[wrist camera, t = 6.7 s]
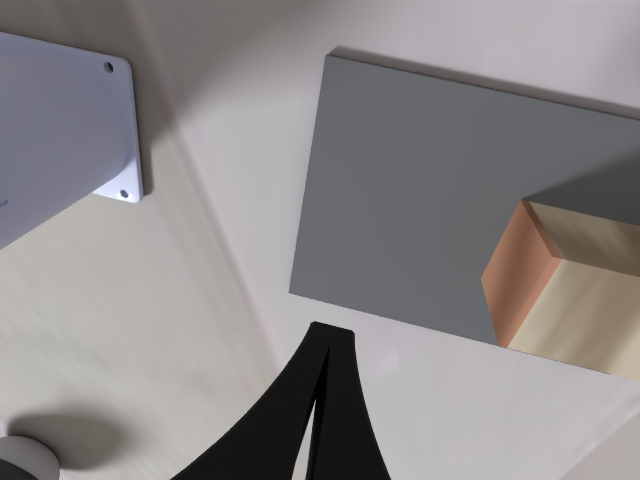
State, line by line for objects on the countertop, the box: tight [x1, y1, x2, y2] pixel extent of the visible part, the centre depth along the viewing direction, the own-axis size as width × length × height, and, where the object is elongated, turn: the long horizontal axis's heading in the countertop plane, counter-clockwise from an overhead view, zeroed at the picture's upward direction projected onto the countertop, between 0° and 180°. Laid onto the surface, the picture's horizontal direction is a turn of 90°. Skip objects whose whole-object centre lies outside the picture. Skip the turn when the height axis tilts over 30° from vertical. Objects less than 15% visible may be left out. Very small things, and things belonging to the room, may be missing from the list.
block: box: [481, 199, 640, 381], centre depth 18 cm, size 5×5×9 cm
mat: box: [289, 54, 640, 374], centre depth 21 cm, size 20×14×1 cm
